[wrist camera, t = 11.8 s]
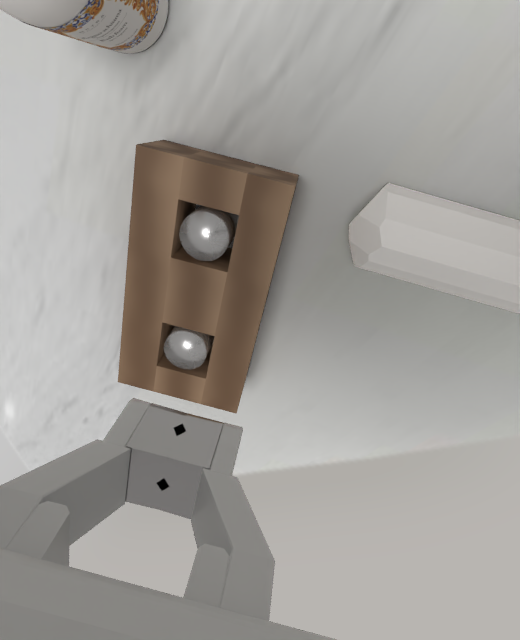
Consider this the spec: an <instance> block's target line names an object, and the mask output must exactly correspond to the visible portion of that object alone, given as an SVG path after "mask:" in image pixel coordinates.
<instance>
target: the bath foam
mask: <svg viewBox="0 0 520 640" xmlns="http://www.w3.org/2000/svg"><path fill="white" fill-rule="evenodd" d="M0 9H1V10H3V11H4V12H6V13H7V14H9V15H11V16H12V17H14V18H16V19H18V20H20V21H22V22H24V23H26V24H29V25H32V26H35V27H38V28H41V29H44V30H48V31H51V32H54V33H57V34H61V35H64V36H67V37H70V38H74V39H77V40H80V41H83V42H87V43H90V44H93V45H96V46H99V47H103V48H106V49H110V50H113V51H117V52H121V53H137V52H141V51H143V50H145V49H147V48H149V47H150V46H151V45H152V44H153V43H154V42H155V41H156V40H157V39H158V38H159V36H160V34H161V33H162V31H163V28H164V26H165V23H166V19H167V14H168V0H0Z"/></svg>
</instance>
